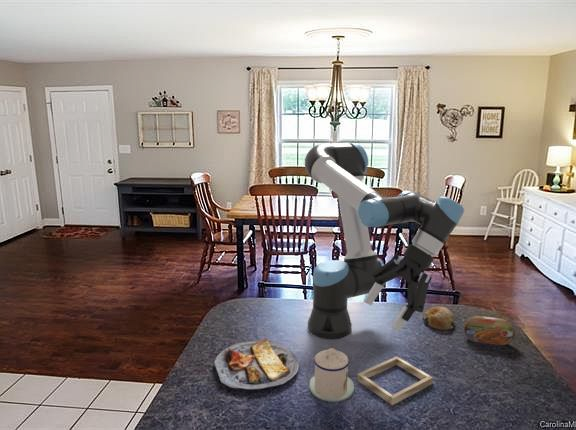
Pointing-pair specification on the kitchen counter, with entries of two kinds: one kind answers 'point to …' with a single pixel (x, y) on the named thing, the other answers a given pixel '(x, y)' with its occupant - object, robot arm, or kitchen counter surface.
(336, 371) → the teacup with lid
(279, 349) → the food plate
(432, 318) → the bread roll
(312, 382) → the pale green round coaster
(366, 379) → the wooden frame
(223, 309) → the kitchen counter surface
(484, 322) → the tin
